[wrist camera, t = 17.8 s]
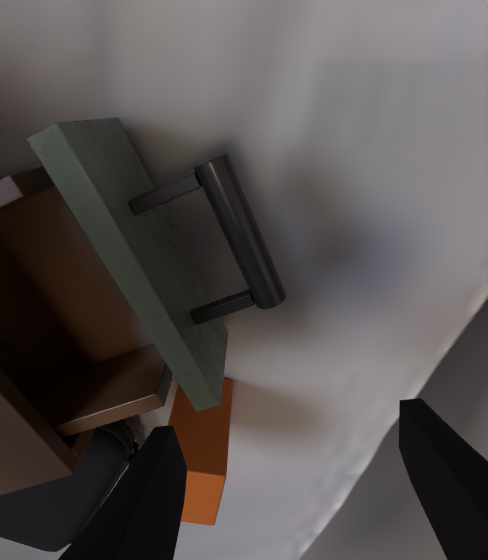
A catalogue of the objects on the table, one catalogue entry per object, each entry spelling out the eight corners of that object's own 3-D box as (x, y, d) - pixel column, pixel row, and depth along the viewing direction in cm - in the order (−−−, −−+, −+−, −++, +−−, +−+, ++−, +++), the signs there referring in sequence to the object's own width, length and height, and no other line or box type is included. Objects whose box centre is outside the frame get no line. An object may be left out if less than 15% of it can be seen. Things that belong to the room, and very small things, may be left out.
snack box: (175, 415, 25) (150, 518, 19) (181, 371, 24) (156, 467, 17) (223, 422, 26) (214, 526, 19) (233, 379, 24) (226, 477, 18)
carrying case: (92, 531, 31) (164, 421, 25) (77, 572, 28) (153, 460, 23) (-36, 488, 29) (12, 358, 23) (-66, 528, 26) (-20, 392, 21)
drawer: (204, 75, 16) (181, 59, 10) (298, 307, 21) (314, 376, 15) (-92, 219, 19) (-225, 263, 13) (51, 392, 24) (-6, 474, 18)
